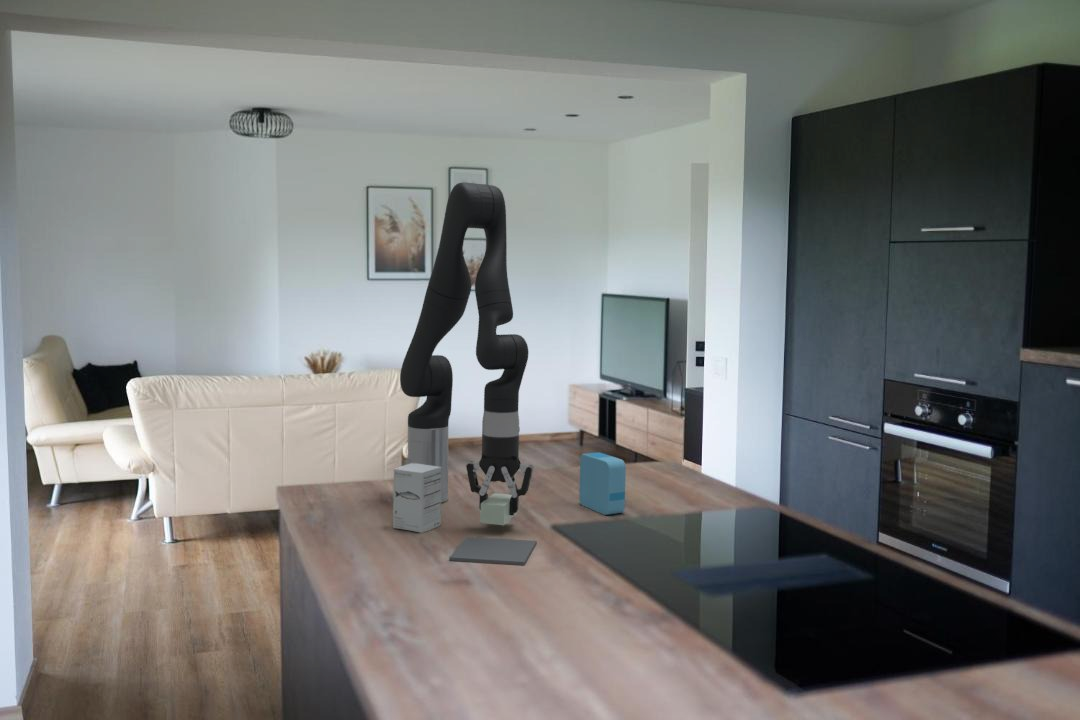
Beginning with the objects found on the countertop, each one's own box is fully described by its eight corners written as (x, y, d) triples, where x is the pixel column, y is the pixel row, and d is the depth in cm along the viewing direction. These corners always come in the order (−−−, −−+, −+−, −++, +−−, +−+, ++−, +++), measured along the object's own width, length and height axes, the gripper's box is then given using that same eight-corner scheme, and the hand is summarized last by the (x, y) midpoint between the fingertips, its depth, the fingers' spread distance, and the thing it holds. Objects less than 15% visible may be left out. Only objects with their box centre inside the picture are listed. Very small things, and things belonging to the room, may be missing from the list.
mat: (449, 560, 181) (449, 557, 181) (466, 539, 195) (466, 536, 195) (524, 565, 179) (524, 562, 179) (536, 543, 193) (536, 540, 193)
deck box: (480, 522, 199) (480, 503, 199) (493, 511, 208) (493, 493, 207) (504, 525, 198) (504, 505, 198) (516, 513, 207) (516, 495, 206)
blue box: (625, 514, 217) (626, 460, 215) (607, 516, 214) (609, 462, 213) (595, 502, 227) (596, 451, 226) (578, 504, 225) (579, 452, 224)
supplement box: (391, 528, 202) (392, 468, 201) (412, 520, 208) (413, 461, 207) (421, 534, 198) (422, 472, 197) (442, 525, 205) (442, 465, 204)
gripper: (461, 433, 198) (460, 516, 200) (532, 437, 196) (530, 520, 198) (470, 427, 206) (468, 506, 208) (538, 430, 204) (536, 511, 205)
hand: (498, 513), depth 203 cm, fingers closed on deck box, 5 cm apart
